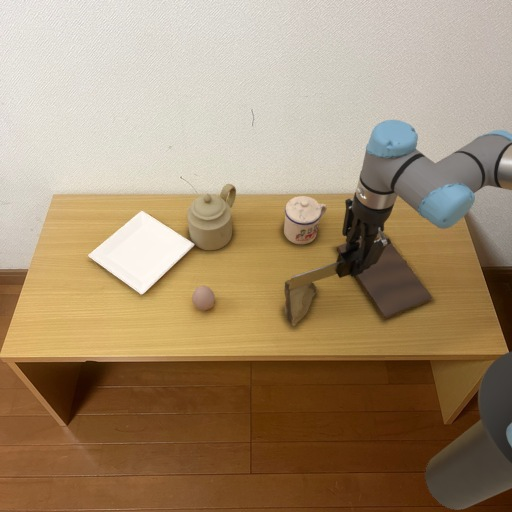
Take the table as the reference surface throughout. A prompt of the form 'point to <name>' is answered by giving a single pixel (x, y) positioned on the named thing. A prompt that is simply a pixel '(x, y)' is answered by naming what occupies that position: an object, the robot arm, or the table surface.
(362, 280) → the cutting board
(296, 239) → the teacup with lid
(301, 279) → the knife
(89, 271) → the table surface
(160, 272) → the plate
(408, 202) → the robot arm
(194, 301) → the egg
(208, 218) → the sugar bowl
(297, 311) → the rock
